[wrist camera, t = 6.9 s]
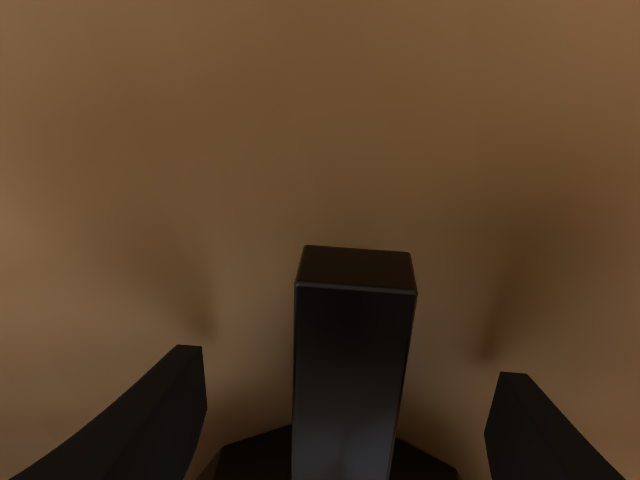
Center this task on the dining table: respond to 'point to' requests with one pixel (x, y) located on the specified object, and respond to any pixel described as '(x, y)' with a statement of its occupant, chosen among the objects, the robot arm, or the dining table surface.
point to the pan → (342, 377)
